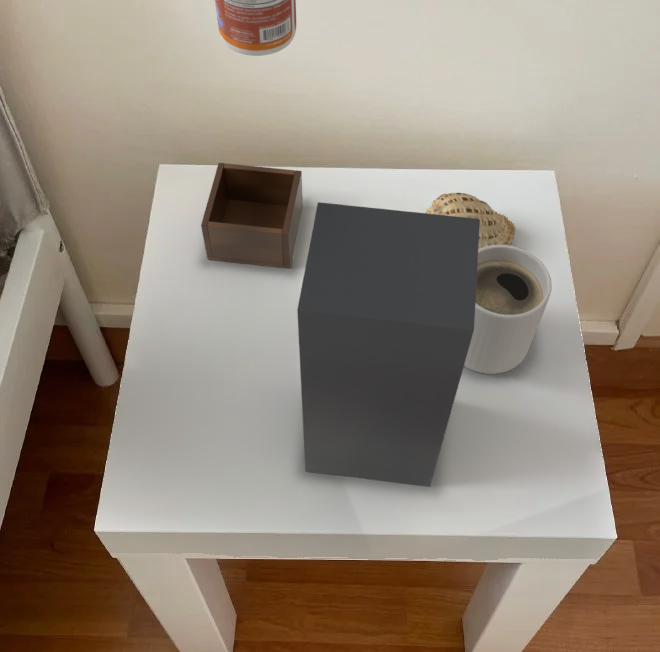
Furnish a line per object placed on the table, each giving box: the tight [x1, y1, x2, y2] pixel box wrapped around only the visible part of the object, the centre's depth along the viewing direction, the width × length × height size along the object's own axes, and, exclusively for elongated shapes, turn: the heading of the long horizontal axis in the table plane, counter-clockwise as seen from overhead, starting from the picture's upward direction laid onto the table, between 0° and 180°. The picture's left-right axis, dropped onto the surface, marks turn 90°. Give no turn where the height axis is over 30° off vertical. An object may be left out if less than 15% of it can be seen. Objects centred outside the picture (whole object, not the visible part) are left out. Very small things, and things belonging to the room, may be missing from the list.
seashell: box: [424, 192, 516, 249], centre depth 90 cm, size 8×6×10 cm
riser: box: [296, 201, 480, 488], centre depth 68 cm, size 12×10×26 cm
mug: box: [464, 245, 553, 375], centre depth 81 cm, size 11×10×10 cm
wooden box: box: [200, 162, 304, 269], centre depth 90 cm, size 9×9×6 cm
